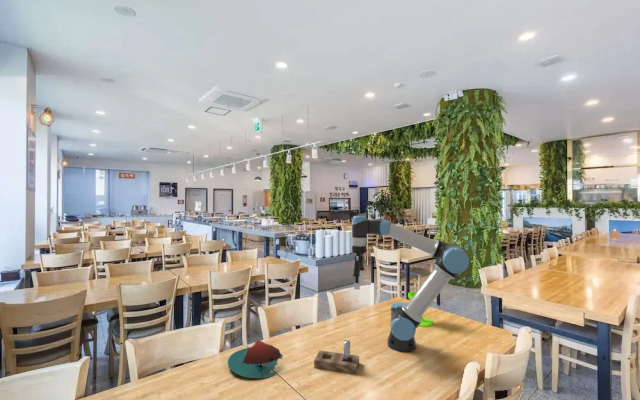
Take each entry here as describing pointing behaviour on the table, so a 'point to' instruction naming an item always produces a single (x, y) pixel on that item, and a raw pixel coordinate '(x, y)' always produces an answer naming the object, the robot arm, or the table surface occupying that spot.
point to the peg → (347, 351)
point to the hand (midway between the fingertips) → (358, 285)
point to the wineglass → (424, 321)
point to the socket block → (336, 362)
